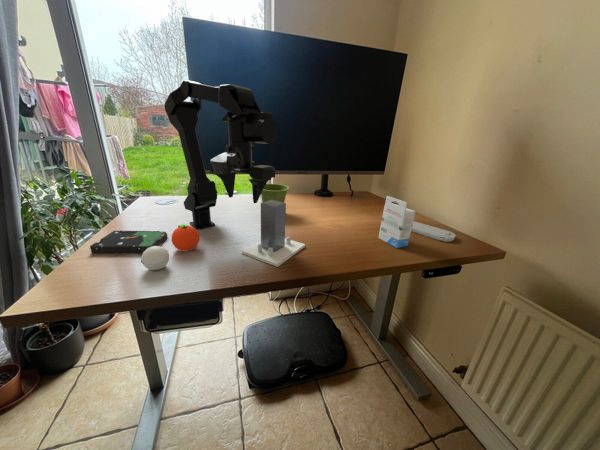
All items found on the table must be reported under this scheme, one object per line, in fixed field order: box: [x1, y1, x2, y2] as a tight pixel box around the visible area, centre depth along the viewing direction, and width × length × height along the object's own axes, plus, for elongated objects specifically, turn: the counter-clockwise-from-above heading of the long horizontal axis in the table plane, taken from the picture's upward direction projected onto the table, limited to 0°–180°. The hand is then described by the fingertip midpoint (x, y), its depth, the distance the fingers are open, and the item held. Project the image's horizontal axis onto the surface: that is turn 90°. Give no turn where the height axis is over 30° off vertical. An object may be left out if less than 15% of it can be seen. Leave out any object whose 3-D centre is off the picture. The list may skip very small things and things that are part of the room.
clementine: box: [171, 224, 201, 252], centre depth 65 cm, size 8×7×7 cm
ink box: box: [378, 195, 416, 249], centre depth 76 cm, size 8×5×15 cm, turn 26°
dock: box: [241, 236, 306, 268], centre depth 68 cm, size 12×14×3 cm
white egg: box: [140, 245, 170, 271], centre depth 55 cm, size 8×6×6 cm
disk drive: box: [89, 230, 168, 255], centre depth 66 cm, size 10×3×15 cm
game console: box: [411, 220, 456, 243], centre depth 87 cm, size 18×2×8 cm
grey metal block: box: [260, 200, 287, 252], centre depth 66 cm, size 5×4×13 cm
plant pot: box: [260, 183, 290, 203], centre depth 95 cm, size 12×12×11 cm
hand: (242, 200), depth 68 cm, fingers open, 9 cm apart
